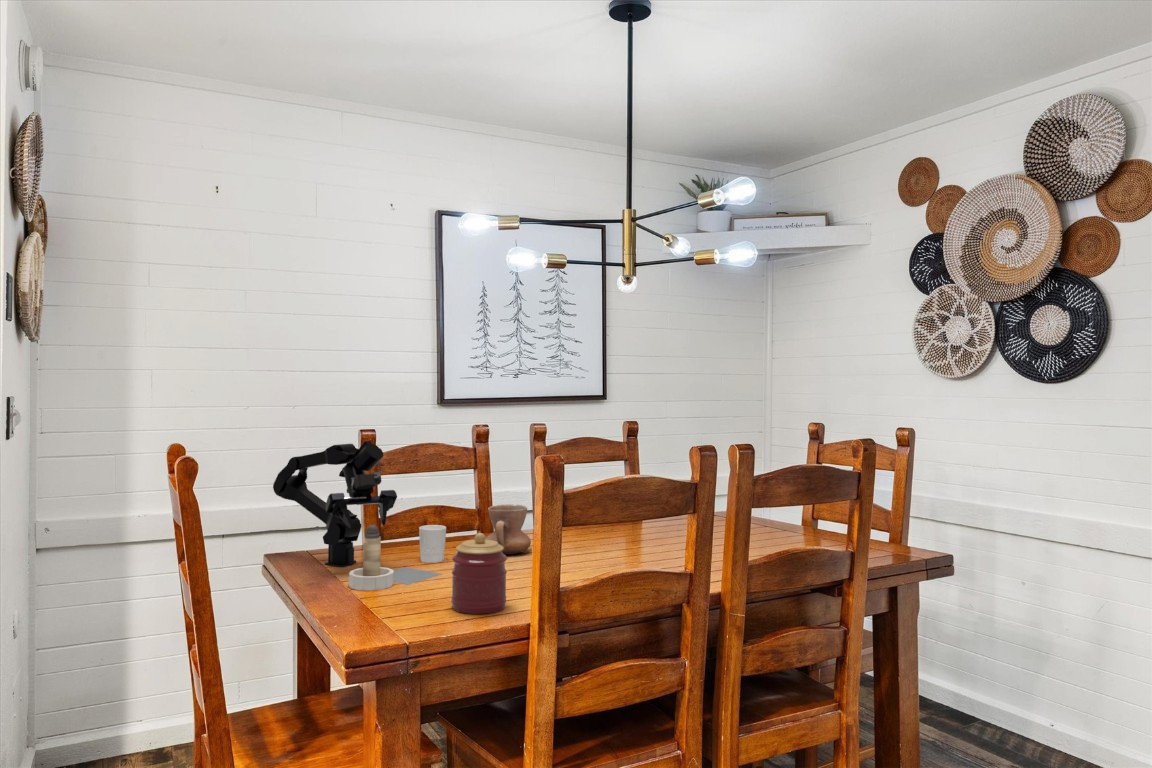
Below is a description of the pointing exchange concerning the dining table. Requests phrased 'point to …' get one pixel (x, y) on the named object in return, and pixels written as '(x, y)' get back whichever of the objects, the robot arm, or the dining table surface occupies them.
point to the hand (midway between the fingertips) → (368, 526)
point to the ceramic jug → (509, 527)
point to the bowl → (371, 580)
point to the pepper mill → (371, 551)
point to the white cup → (432, 543)
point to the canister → (479, 576)
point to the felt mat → (412, 575)
